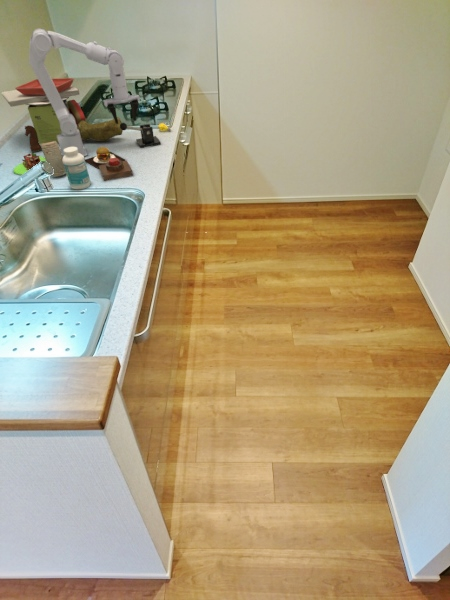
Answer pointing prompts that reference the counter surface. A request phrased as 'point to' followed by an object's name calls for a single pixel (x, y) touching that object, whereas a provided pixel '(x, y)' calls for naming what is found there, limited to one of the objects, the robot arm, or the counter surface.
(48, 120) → the protein box
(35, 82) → the plant saucer
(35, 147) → the chess piece
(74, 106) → the decorative object
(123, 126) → the lever
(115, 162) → the button
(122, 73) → the robot arm
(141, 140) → the bracket
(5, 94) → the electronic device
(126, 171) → the button block
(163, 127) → the light bulb
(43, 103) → the plate
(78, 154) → the pill bottle
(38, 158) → the brown lump green base
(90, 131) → the stone tool
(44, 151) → the carving
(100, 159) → the hamburger
